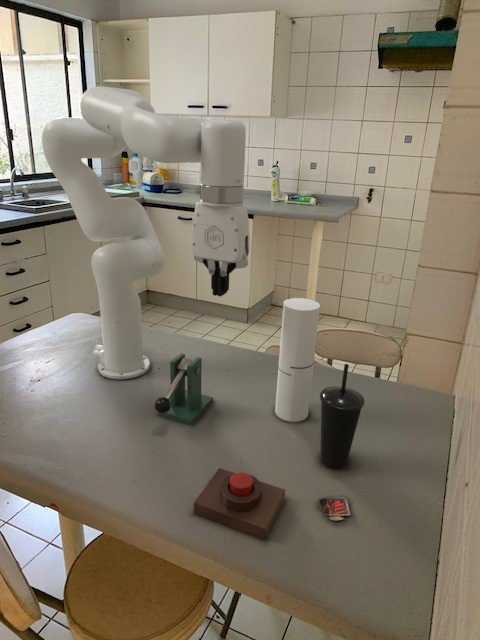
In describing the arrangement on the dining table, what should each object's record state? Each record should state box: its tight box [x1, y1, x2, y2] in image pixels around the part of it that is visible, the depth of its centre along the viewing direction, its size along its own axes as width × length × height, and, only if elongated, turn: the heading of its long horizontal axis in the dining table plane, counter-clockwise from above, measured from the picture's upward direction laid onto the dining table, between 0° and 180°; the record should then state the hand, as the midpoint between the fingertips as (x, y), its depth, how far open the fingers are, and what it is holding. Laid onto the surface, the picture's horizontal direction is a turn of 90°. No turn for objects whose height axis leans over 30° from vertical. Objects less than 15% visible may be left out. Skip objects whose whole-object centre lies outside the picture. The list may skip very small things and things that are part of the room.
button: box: [230, 472, 253, 497], centre depth 73 cm, size 4×4×2 cm
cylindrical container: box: [274, 297, 321, 423], centre depth 96 cm, size 7×7×25 cm
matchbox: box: [318, 497, 351, 522], centre depth 74 cm, size 5×5×1 cm
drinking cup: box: [319, 363, 366, 470], centre depth 82 cm, size 8×8×20 cm
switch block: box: [193, 467, 286, 541], centre depth 74 cm, size 12×9×4 cm
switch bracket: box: [157, 352, 214, 426], centre depth 98 cm, size 10×8×12 cm
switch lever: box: [153, 357, 194, 414], centre depth 93 cm, size 13×3×3 cm, turn 156°
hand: (219, 293), depth 89 cm, fingers closed
